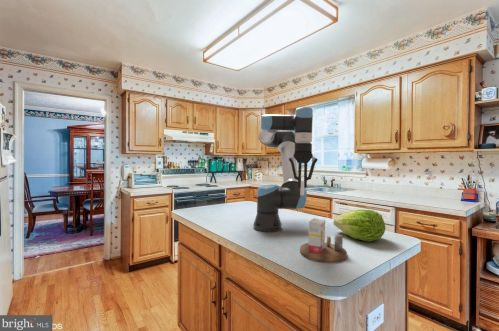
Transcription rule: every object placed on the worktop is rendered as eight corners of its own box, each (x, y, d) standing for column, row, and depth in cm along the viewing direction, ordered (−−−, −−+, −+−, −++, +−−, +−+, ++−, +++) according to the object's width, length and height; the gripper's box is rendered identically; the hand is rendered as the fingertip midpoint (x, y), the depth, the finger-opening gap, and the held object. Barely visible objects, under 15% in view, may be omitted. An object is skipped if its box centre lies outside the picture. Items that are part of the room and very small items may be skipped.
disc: (302, 261, 94) (302, 241, 94) (298, 244, 112) (298, 227, 112) (352, 264, 92) (352, 243, 92) (340, 246, 110) (341, 229, 110)
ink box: (320, 254, 97) (320, 223, 97) (307, 251, 99) (308, 222, 99) (325, 247, 105) (325, 218, 104) (313, 245, 107) (313, 217, 107)
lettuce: (346, 229, 138) (341, 204, 138) (393, 236, 118) (387, 206, 118) (327, 240, 128) (322, 213, 128) (375, 249, 108) (369, 216, 108)
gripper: (288, 142, 111) (287, 195, 112) (319, 142, 109) (317, 196, 110) (288, 142, 118) (287, 192, 120) (317, 142, 116) (316, 193, 118)
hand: (302, 194), depth 115 cm, fingers closed
